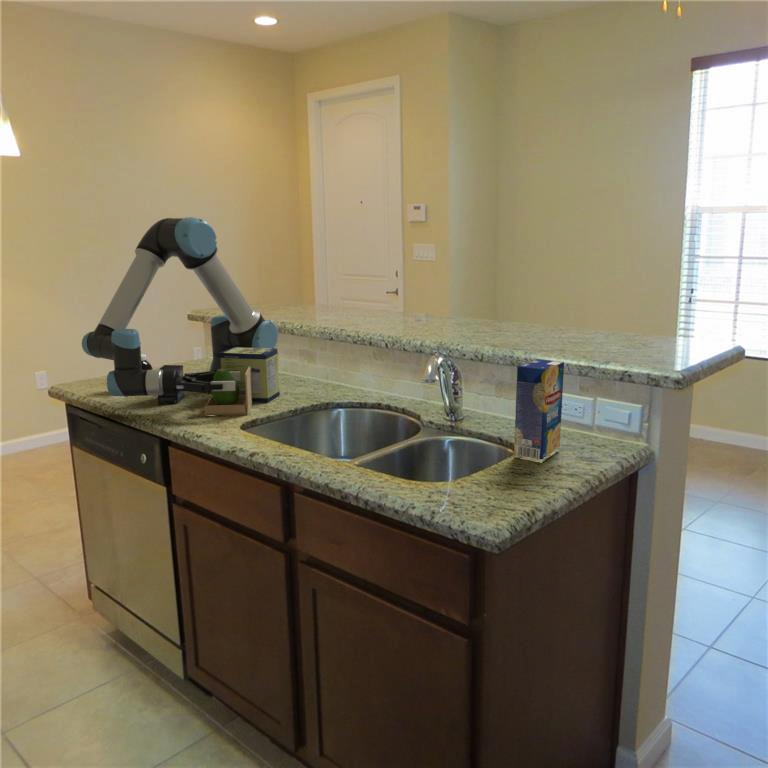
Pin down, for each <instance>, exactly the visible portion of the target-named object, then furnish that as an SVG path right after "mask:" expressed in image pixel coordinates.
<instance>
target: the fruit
mask: <svg viewBox="0 0 768 768" xmlns="http://www.w3.org/2000/svg"><path fill="white" fill-rule="evenodd" d="M213 381H235V379H234V378H233V376H232V374H231V373H230V372H229V371H228V370H227V369H219V370H217V371H216V372H215V374H214V377H213ZM211 393H212V394H211V395H212V396H211V397H213V399H214V401H215V403H216V404H217V405H234V404H235V403H236V402H237V400H238V398H239V387H238V385H237V383H236V381H235V391H212V390H211Z"/></svg>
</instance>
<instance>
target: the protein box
mask: <svg viewBox="0 0 768 768" xmlns="http://www.w3.org/2000/svg"><path fill="white" fill-rule="evenodd" d="M278 357H279V356H278V348H275V347H274V348H239V347H233V348H231V349H228V350H226V351H223V352H220V359H221V369H227V370H228V371H229V372H235V371H240V381H236V383H237V385H238V387H239V396H246V388H245V373H246V371H247V369H248V367H250V371H251V392H252V403H260V404H263V403H265V404H268V403H270V402H271V401H273V400H274V399H276V398H278V397H279V396H280V395H281V394H280V380H279V379H280V378H279V375H280V374H279V361H278V360H279V358H278Z"/></svg>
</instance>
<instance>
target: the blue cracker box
mask: <svg viewBox="0 0 768 768" xmlns="http://www.w3.org/2000/svg"><path fill="white" fill-rule="evenodd" d="M564 370H565V361H558V360H549V359H548V360H547V359H541V358H540V359H539V358H536V359H533V360H530V361H526V362H524V363H522V364H519V365H518V366H517V368H516V392H515V393H516V395H515V396H516V399H515V420H514V421H515V423H514V449H513V450H514V452H513V454H514V455H513V457H514V456H515V455H518V456H525V457H531V458H537V459H543V458H544V457H546V456H547V455H549V454H550V453H552V452H553V451H554V450H556V449H557V448H558V447H560V448H561V430H562V428H561V427H562V410H563V389H564V374H565V372H564Z"/></svg>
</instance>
